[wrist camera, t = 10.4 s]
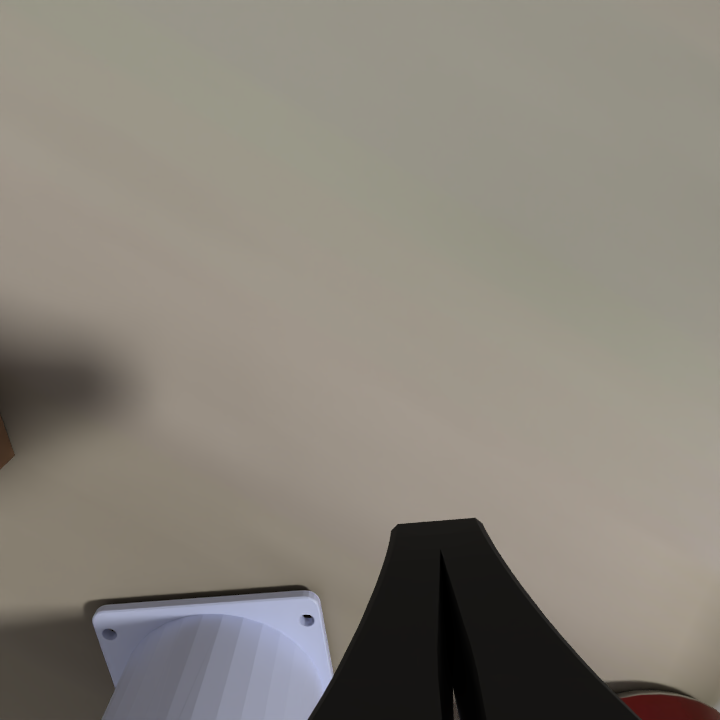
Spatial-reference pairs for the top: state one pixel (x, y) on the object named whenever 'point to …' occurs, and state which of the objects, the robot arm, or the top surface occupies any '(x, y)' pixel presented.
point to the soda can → (667, 706)
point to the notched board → (5, 446)
